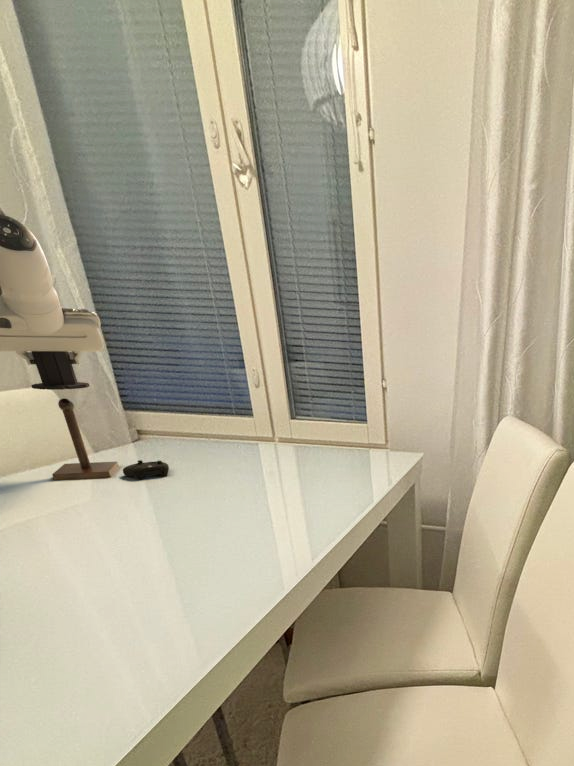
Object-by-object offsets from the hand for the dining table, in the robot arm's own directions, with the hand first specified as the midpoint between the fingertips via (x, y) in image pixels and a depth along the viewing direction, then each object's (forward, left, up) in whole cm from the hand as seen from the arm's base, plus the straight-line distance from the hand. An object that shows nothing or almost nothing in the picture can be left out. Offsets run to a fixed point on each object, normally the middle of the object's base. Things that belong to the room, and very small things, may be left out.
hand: (53, 361), depth 117 cm
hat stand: (0, 0, -24) cm, 24 cm away
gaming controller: (+13, -6, -24) cm, 28 cm away
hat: (0, -1, -5) cm, 5 cm away
